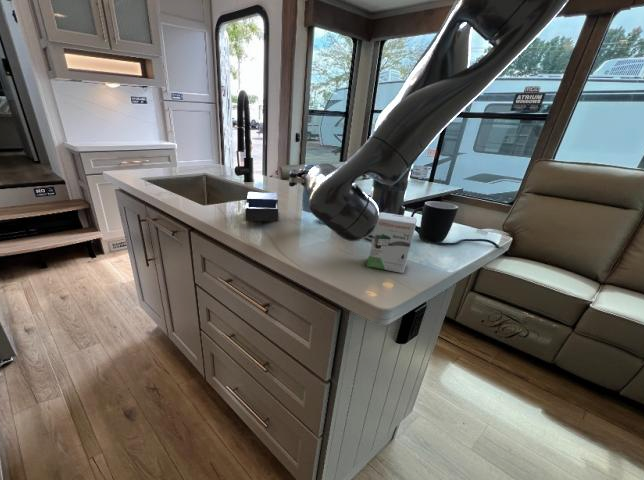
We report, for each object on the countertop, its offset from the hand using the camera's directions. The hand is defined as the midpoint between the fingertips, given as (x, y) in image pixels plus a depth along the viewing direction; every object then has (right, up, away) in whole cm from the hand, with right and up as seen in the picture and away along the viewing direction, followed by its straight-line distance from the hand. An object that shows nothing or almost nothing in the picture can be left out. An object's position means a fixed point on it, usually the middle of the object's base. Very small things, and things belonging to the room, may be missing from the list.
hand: (315, 173), depth 75 cm
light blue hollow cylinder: (0, -8, +2) cm, 8 cm away
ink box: (+17, -22, 0) cm, 28 cm away
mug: (+36, -11, +21) cm, 43 cm away
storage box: (-15, -4, +30) cm, 33 cm away
